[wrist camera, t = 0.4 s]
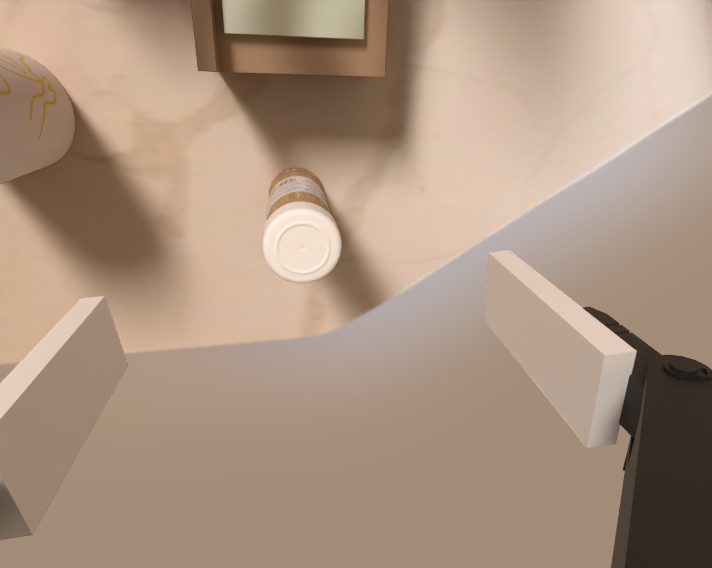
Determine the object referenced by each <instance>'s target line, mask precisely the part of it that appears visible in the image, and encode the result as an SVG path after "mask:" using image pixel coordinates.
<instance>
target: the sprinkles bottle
mask: <svg viewBox="0 0 712 568" xmlns="http://www.w3.org/2000/svg"><path fill="white" fill-rule="evenodd" d="M262 250H263V255H264V258H265V260H266V262H267V264H268V266H269V267H270V268H271V270H272V271H273V272H274V273H275V274H277V275H278V276H279V277H281V278H283V279H285V280H287V281H290V282H295V283H309V282H313V281H316V280H319V279H321V278H323V277H324V276H326V275H327V274H329V273H330V272H331V271H332V270H333V268H334V267H335V266H336V264H337V262H338V260H339V258H340V255H341V250H342V241H341V236H340V232H339V229H338V226H337V224H336V222H335V220H334V218H333V217H332V216H331V212H330V209H329V207H328V204H327V201H326V197H325V195H324V190H323V187H322V185H321V182H320V181H319V179H318V178H317V177H316V176H315V175H314V174H313V173H312V172H310V171H308V170H305V169H302V168H290V169H288V170H285V171H283V172H281V173H279V174H278V175H277V176H276V178H275V179H274V180H273V182H272V184H271V187H270V190H269V201H268V208H267V217H266V224H265V227H264V231H263V238H262Z"/></svg>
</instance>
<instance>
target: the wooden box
mask: <svg viewBox="0 0 712 568" xmlns="http://www.w3.org/2000/svg"><path fill="white" fill-rule="evenodd" d="M191 7H192V17H193V27H194V36H195V46H196V56H197V66H198V71H209V72H230V73H261V74H292V75H323V76H354V77H385V61H386V41H387V20H388V0H191Z"/></svg>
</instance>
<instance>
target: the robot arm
mask: <svg viewBox="0 0 712 568" xmlns="http://www.w3.org/2000/svg"><path fill="white" fill-rule="evenodd" d="M485 306H486V307H485V321H486V322H487V324H488V325H489V326H490V328H491V329H492V330H493V331H494V333H495V334H496V335H497V336H498V338H499V339H500V340H501V341H502V343H503V344H504V345H505V346H506V348H507V349H508V350H509V351H510V353H511V354H512V355H513V356H514V358H515V359H516V360H517V361H518V363H519V364H520V365H521V366H522V367H523V369H524V370H525V371H526V373H527V374H528V375H529V376H530V378H531V379H532V380H533V381H534V383H535V384H536V385H537V386H538V388H539V389H540V390H541V391H542V392H543V394H544V395H545V396H546V398H547V399H548V400H549V401H550V403H551V404H552V405H553V406H554V408H555V409H556V410H557V411H558V413H559V414H560V415H561V416H562V418H563V419H564V420H565V421H566V423H567V424H568V425H569V426H570V428H571V429H572V430H573V431H574V433H575V434H576V435H577V436H578V438H579V439H580V440H581V441H582V443H583V444H584V445H585V446H586V448H592V447H598V446H604V445H611V444H616V440H617V436H618V432H619V426H620V425H621V426H622V427H623V428H624V429H625V430H626V431H627V432H628V433H629V434H630V435H631V439H630V443H629V447H628V451H627V455H626V459H625V463H624V468H623V470H624V471H625V475H624V481H623V489H622V495H621V503H620V509H619V516H618V524H617V530H616V537H615V545H614V551H613V558H612V565H611V568H712V370H711V369H710V368H709V367H707V366H706V365H704V364H702V363H700V362H698V361H696V360H693V359H689V358H686V357H683V356H675V355H661V354H660V353H658V352H657V351H656V350H654V349H653V348H652V347H650V346H649V345H648V344H646V343H645V342H644V341H642V340H641V339H640V338H638V337H637V336H636V335H634V334H633V333H630V332H629V330H627V329H626V328H625V327H623V326H622V325H619V323H618V322H617V321H616V320H614V319H613V318H612V317H610V316H609V315H607V314H605V313H603V312H601V311H598V310H596V309H594V308H591V307H584V308H582V307H580V306H579V305H578V304H577V303H575V302H574V301H573V300H572V299H570V298H569V297H568V296H566V295H565V294H564V293H563V292H561V291H560V290H559V289H558V288H556V287H555V286H554V285H552V284H551V283H550V282H549V281H547V280H546V279H545V278H544V277H542V276H541V275H540V274H539V273H537V272H536V271H535V270H534V269H532V268H531V267H530V266H529V265H527V264H526V263H525V262H523V261H522V260H521V259H520V258H518V257H517V256H516V255H515V254H513V253H512V252H511V251H509V250H507V251H498V252H489V254H488V271H487V288H486V305H485ZM127 366H128V364H127V361H126V358H125V355H124V352H123V349H122V346H121V343H120V340H119V337H118V334H117V331H116V328H115V325H114V322H113V319H112V316H111V313H110V310H109V307H108V304H107V301H106V298H105V296H100V297H91V298H82V299H80V300H79V301H78V302H77V303H76V304H75V305H74V306H73V307H72V308H71V309H70V310H69V312H68V313H67V314H66V315H65V316H64V317H63V318H62V319H61V320H60V321H59V322H58V323H57V324H56V325H55V326H54V327H53V328H52V329H51V330H50V332H49V333H48V334H47V335H46V336H45V337H44V338H43V339H42V340H41V341H40V342H39V343H38V344H37V345H36V346H35V347H34V348H33V349H32V351H31V352H30V353H29V354H28V355H27V356H26V357H25V358H24V359H23V360H22V361H21V362H20V363H19V364H18V365H17V366H16V368H15V369H14V370H13V371H12V372H11V373H10V374H9V375H8V376H7V377H6V378H5V379H4V380H3V381H2V382H1V383H0V540H2V539H9V538H15V537H22V536H28V535H33V533H34V531H35V529H36V528H37V526H38V524H39V522H40V521H41V519H42V517H43V515H44V514H45V512H46V510H47V508H48V506H49V505H50V503H51V501H52V499H53V498H54V496H55V494H56V492H57V491H58V489H59V487H60V485H61V483H62V482H63V480H64V478H65V476H66V474H67V473H68V471H69V469H70V467H71V466H72V464H73V462H74V460H75V459H76V457H77V455H78V453H79V452H80V450H81V448H82V446H83V444H84V443H85V441H86V439H87V437H88V436H89V434H90V432H91V430H92V428H93V427H94V425H95V423H96V421H97V420H98V418H99V416H100V414H101V412H102V411H103V409H104V407H105V405H106V404H107V402H108V400H109V398H110V397H111V394H112V393H113V391H114V389H115V388H116V386H117V384H118V382H119V380H120V379H121V377H122V375H123V373H124V372H125V370H126V368H127Z"/></svg>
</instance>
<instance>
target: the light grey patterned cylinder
mask: <svg viewBox="0 0 712 568" xmlns="http://www.w3.org/2000/svg"><path fill="white" fill-rule="evenodd" d="M75 126H76V123H75V114H74V110H73V106H72V103H71V101H70V98H69V96H68V94H67V93H66V91H65V89H64V88H63V86H62V85H61V83H60V82H59V81H58V80H57V78H56V77H55V76H54V75H53V74H52V73H51V72H50V71H49V70H48V69H47V68H45V67H44V66H43V65H42V64H40V63H39V62H37V61H36V60H34V59H32V58H31V57H29V56H27V55H24V54H22V53H20V52H17V51H13V50H10V49H4V48H0V184H1V183H4V182H7V181H9V180H12V179H15V178H17V177H20V176H23V175H25V174H28V173H30V172H33V171H36V170H38V169H41V168H44V167H46V166H49V165H51V164H53V163H55V162H57V161H58V160H59V159H61V158H62V157H63V156H64V155H65V154H66V152H67V151H68V150H69V148H70V146H71V144H72V142H73V139H74V135H75Z"/></svg>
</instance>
